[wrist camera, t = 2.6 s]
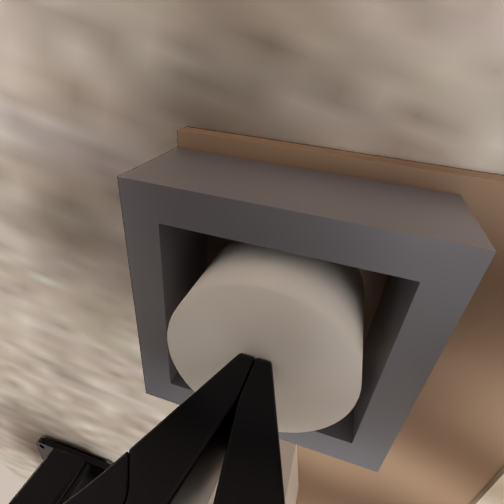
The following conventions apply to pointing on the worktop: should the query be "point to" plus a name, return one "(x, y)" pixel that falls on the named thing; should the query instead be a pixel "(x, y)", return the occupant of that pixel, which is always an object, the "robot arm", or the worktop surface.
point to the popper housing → (315, 246)
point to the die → (284, 472)
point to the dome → (277, 329)
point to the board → (447, 367)
